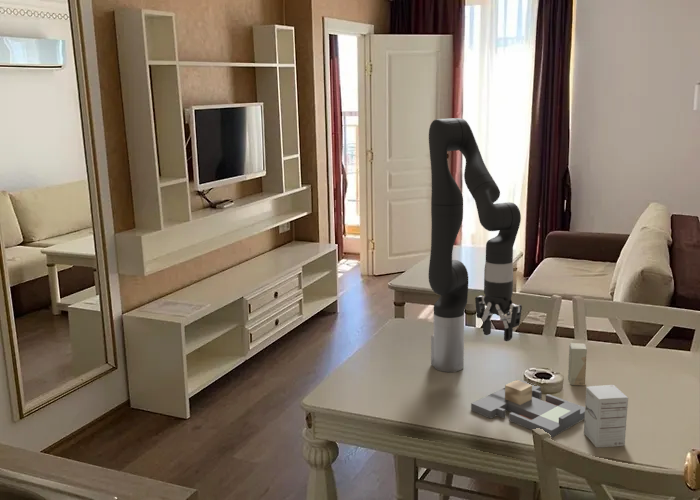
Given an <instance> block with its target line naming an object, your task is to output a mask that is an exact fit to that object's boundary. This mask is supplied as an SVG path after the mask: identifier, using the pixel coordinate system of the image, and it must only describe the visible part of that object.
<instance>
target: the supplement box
mask: <svg viewBox="0 0 700 500" xmlns="http://www.w3.org/2000/svg"><path fill="white" fill-rule="evenodd" d="M628 404H629V397H628V396H627V395H626V394H625V393H624V392H623V391H622V390H620V389H619V388H618V387H617V385H614V384H605V385H603V384H602V385H590V386H586V388H585V404H584V407H585V418H584V419H583V420H584V421H583V422H584V424H583V434H584V435H585V436H586V437H587V438H588V439H589V441H591V443H592V444H593V445H594V447H596V448H609V447H623V446H625V444H626V432H627V431H626V430H627V418H628V407H629V405H628Z"/></svg>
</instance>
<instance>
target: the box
mask: <svg viewBox="0 0 700 500" xmlns="http://www.w3.org/2000/svg"><path fill="white" fill-rule="evenodd" d="M587 350H588V349H587V346H586V343H579V342H578V343H577V342H576V343H575V342H570V343H569V349H568V352H569V353H568V370H567V371H568V375H567V380H568V383H569V385H570V386H586V372H587V353H588V351H587Z"/></svg>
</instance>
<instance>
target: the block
mask: <svg viewBox="0 0 700 500" xmlns="http://www.w3.org/2000/svg"><path fill="white" fill-rule="evenodd" d="M504 388H505V399H506V400H509V401H511V402H514V403H516V404H519V405H521V404H523V403H525V402H527V401H529V400H531V399H532V385H530V384H527V383H524V382H521V381H520V380H518V379H516V380H514V381H511V382H509V383H507V384H505V386H504Z"/></svg>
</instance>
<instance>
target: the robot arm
mask: <svg viewBox="0 0 700 500" xmlns="http://www.w3.org/2000/svg"><path fill="white" fill-rule="evenodd" d="M428 147H429V160H430V161H429V162H430V171H431V176H430V177H431V199H430V201H431V202H430V204H431V205H430V210H431V211H430V214H431V215H430V216H431V217H430V218H431V235H430V237H431V238H430V240H431V241H430V255H429V256H430V257H429V265H428V282H429V286H430V288H431V291H433V292H434V293H435V294H436V295H438V296H439V297H438V299H437V301H435V302H434V305H433V334H432V335H431V336H430V366H433V368H434V369H435V370H437V371H440V372H447V373H455V372H459V371H461V370H463V369H464V363H465V362H464V361H465V359H464V357H465V352H464V350H465V309H466V307H467V303H468V295H469V273H468V270H467V267H466V265H464V263H463V262H462V261H460V260H456V259H453V251H454V246H455V242H456V239H457V237H458V235H459V232H460V229H461V227H462V224H463V219H464V195H463V193H462V191H461V189H460V187H459V185H458V184H457V182H456V180H455V179H454V177H453V175H452V173H451V171H450V167H449V163H448V152H456V151H459V152H460V153H461V154H462V156H463V157H464V159H465V166H464V167H465V168H464V173H463V177H464V183H465V186H466V187H467V190H468V191H469V192H470V194H471V196H472V198H473V200H474V202H475V206H476V210H477V215H478V220H479V223H480V225H481V226H482V227H483V229H485V230H486V231H488V232H497V231H498V233H497V235H496V236H495V237H492V238H490V239H488V240H487V242H486V244H485V264H484V268H483V269H484V271H483V272H484V275H483V276H484V277H483V285H484V286H483V293H484V295H483V294H481V295H478V296H475V298H474V300H475V301H474V302H475V313H476V318H478V319H481V321H482V332H483V335H485V336H488V335H491V333H492V320H491V319H492V317H493V315H496V316H499V319H500V320H501V321H502V322H503V326H504V327H503V329H504V330H503V341H505V342H509V341H511V340H512V338H513V334H514V333H513V332H514V331H513V330H514V329H513V328H516V327H518V326H520V324H521V317H522V310H523V306H522V304H515V303H513V300H512V297H513V294H514V293H513V292H514V264H513V261H514V258H513V257H514V245H515V242H516V238H517V235H518V233H519V229H520V225H521V220H522V215H521V210H520V208H519V207H518V205H517V204H515V203H514V202H509V201H508V202H500V203H495V202H497V201H498V200H499V198H500V197H501V196H500V195H501V191H500V189H499V187H498V184H497V183H496V181H495V180H494V178H493V176H492V175H491V173H490V172H489V170H488V168H487V166H486V164H485V161H484V159H483V157H482V154H481V151H480V149H479V146H478V143H477V140H476V137H475V135H474V133H473V131H472V128H471V126H470V125H469V122H467V120H466V119H464V118H460V117H455V118H452V117H451V118H437V119H434V120H432V121H431V123H430V125H429V129H428Z"/></svg>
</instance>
